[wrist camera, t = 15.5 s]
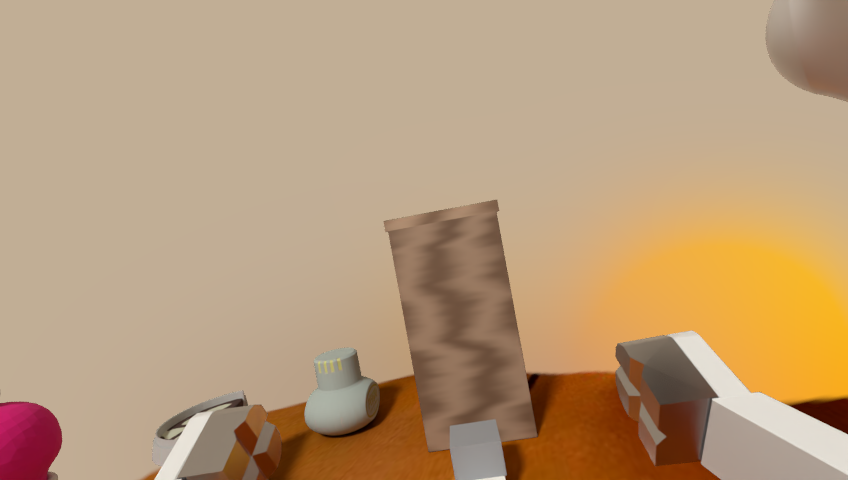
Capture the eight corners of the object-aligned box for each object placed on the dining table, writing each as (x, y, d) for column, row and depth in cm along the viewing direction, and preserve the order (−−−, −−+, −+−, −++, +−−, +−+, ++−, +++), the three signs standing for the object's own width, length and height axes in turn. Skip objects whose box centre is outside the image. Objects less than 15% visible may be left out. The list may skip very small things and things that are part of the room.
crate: (519, 387, 57) (486, 208, 57) (540, 436, 43) (497, 199, 43) (433, 400, 58) (400, 224, 58) (425, 452, 44) (383, 221, 44)
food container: (206, 485, 46) (190, 399, 46) (260, 473, 46) (245, 388, 46) (136, 573, 34) (114, 456, 34) (211, 555, 34) (189, 440, 34)
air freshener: (366, 442, 49) (351, 362, 49) (303, 450, 50) (288, 371, 50) (385, 404, 60) (373, 338, 60) (333, 411, 61) (321, 346, 61)
